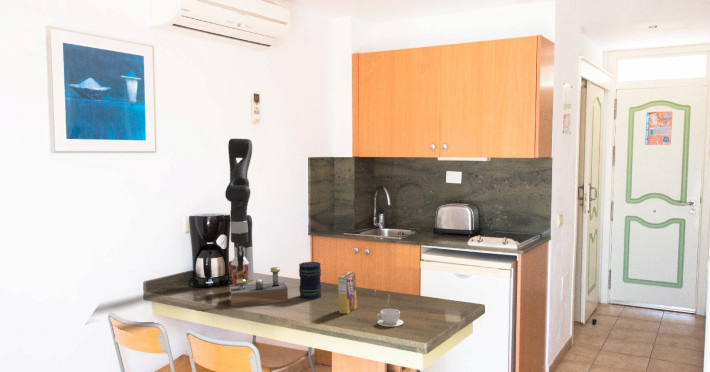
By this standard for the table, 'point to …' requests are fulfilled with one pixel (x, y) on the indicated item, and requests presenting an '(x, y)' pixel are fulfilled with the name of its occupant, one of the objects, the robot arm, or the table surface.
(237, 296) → the mount
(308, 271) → the storage jar
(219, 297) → the table surface
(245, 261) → the smoothie
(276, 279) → the knob
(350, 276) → the candy box
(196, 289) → the table surface
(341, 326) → the table surface
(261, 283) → the cylinder
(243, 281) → the knob
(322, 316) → the table surface
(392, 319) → the teacup
